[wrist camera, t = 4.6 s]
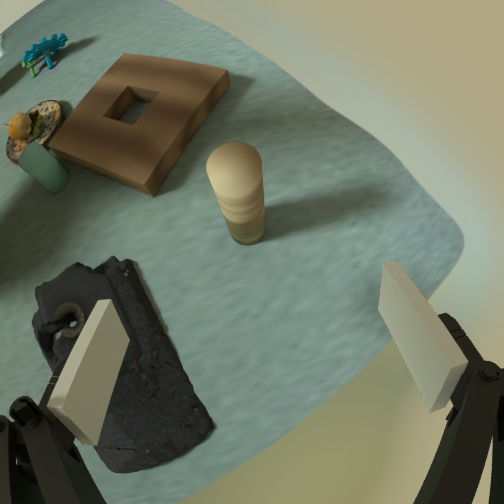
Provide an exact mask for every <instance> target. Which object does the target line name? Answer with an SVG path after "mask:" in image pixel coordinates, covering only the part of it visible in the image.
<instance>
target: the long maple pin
mask: <svg viewBox="0 0 504 504" xmlns="http://www.w3.org/2000/svg"><path fill="white" fill-rule="evenodd" d="M206 170H207V174H208V176H209V179H210V182H211V184H212V187H213V190H214V192H215V195H216V197H217V200H218V203H219V205H220V208H221V210H222V213H223V216H224V218H225V221H226V223H227V226H228V229H229V231H230V234H231V236H232V238H233V239H234V240H235V241H236V242H237V243H239V244H241V245H253V244H256V243H258V242H259V241H260V240H261V239H262V238H263V237H264V235H265V232H266V219H265V205H264V191H263V177H262V163H261V158H260V155H259V153H258V152H257V150H256V149H255V148H253V147H252V146H250V145H248V144H246V143H242V142H230V143H226V144H223V145H221V146H219V147H218V148H216V149H215V150H214V151H213V152H212V153H211V154H210V156H209V158H208V160H207V164H206Z"/></svg>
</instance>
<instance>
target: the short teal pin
mask: <svg viewBox="0 0 504 504" xmlns="http://www.w3.org/2000/svg"><path fill="white" fill-rule="evenodd" d="M18 164H19V166H20V167H21V168H22V169H23V170H24V171H26V172H27V173H28V174H29V175H31V176H32V177H33V178H34V179H36V180H37V181H38V182H39V183H41V184H42V185H43V186H44V187H46V188H47V189H48V190H49V191H51V192H53V193H56V192H59V191H60V190H62V189H63V188H64V187H65V185H66V184H67V182H68V179H69V172H68V170H67V169H65V168H64V167H63V166H62V165H61V164H60V163H59V162H58V161H57V160H56V159H55V158H54V157H53V156H52V155H51V154H50V153H49V152H48V151H47V150H46V149H45V148H44V147H43V146H42V145H41V144H40V143H39V142H37V141H34V142H31V143H30V144H28V145H27V146H26V147H25V148H24V149H23V151H22V152H21V154H20V156H19V160H18Z"/></svg>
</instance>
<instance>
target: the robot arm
mask: <svg viewBox="0 0 504 504" xmlns="http://www.w3.org/2000/svg"><path fill="white" fill-rule="evenodd" d="M378 310H379V312H380V314H381V316H382V318H383V320H384V322H385V323H386V325H387V327H388V329H389V331H390V333H391V335H392V337H393V339H394V341H395V343H396V345H397V346H398V348H399V351H400V353H401V355H402V357H403V359H404V361H405V362H406V364H407V366H408V369H409V371H410V373H411V375H412V377H413V379H414V381H415V383H416V385H417V387H418V390H419V392H420V394H421V396H422V398H423V400H424V403H425V405H426V407H427V409H428V412H429V413H431V412H433V411H436V410H439V409H442V408H444V407H446V405H447V403H448V401H449V399H451V401H452V403H453V405H454V406H453V407H452V409H451V411H450V412H449V414H448V416H447V417H446V420H448V421H447V424H446V427H445V430H444V433H443V436H442V439H441V441H440V444H439V447H438V449H437V452H436V454H435V457H434V459H433V462H432V464H431V467H430V469H429V472H428V474H427V476H426V478H425V480H424V482H423V485H422V487H421V489H420V491H419V493H418V495H417V497H416V499H415V501H414V503H413V504H472V501H473V499H474V496H475V493H476V490H477V488H478V485H479V482H480V479H481V475H482V472H483V469H484V466H485V462H486V459H487V455H488V451H489V447H490V443H491V439H492V435H493V451H492V452H493V453H492V454H493V455H492V473H491V486H490V496H489V504H504V368H503V369H501V368H500V367H498V366H497V365H496V364H495V363H493V362H491V361H484V360H483V358H482V357H481V355H480V354H479V352H478V351H477V349H476V348H475V347H474V345H473V343H472V342H471V340H470V339H469V338H468V336H466V333H465V332H464V331H463V329H461V327H460V325H459V324H458V322H457V321H456V319H454V318H453V317H451V316H450V315H449V314H447V313H444V314H440V315H437V314H436V312H435V311H434V310H433V308H432V307H431V305H430V304H429V303H428V301H427V300H426V299H425V297H424V296H423V294H422V293H421V292H420V290H419V289H418V288H417V286H416V285H415V284H414V282H413V281H412V280H411V278H410V277H409V276H408V275H407V273H406V272H405V271H404V269H403V268H402V267H401V266H400V264H399V263H398V262H391V263H385V264H383V270H382V280H381V289H380V298H379V306H378ZM129 341H130V339H129V337H128V335H127V333H126V331H125V329H124V327H123V325H122V323H121V321H120V318H119V316H118V314H117V312H116V310H115V307H114V305H113V303H112V301H111V299H107V300H98V301H97V303H96V305H95V307H94V309H93V311H92V312H91V314H90V316H89V318H88V320H87V322H86V324H85V326H84V328H83V330H82V331H81V333H80V335H79V337H78V339H77V341H76V343H75V345H74V347H73V349H72V351H71V353H70V355H69V358H68V359H63V360H62V361H61V362H60V363H59V364H58V366H57V367H56V369H55V371H54V373H53V375H52V377H51V379H50V381H49V384H48V385H47V388H46V390H45V392H44V394H43V396H42V399H41V401H40V403H39V406H37V404H36V403H35V402H34V401H33V400H32V399H31V398H30V397H28V396H22V397H19V398H18V399H16V400H15V401H14V402H13V404H12V405H11V407H10V410H9V415H10V416H11V417H12V418H13V419H14V420H15V421H14V422H11V421H10V420H9V419H8V418H7V417H6V416H3V415H0V504H107V503H106V502H105V500H104V498H103V497H102V495H101V493H100V491H99V490H98V488H97V486H96V484H95V482H94V481H93V479H92V477H91V475H90V473H89V471H88V469H87V467H86V465H85V463H84V461H83V459H82V457H81V455H80V453H79V451H78V449H77V447H76V446H75V444H74V443H73V442H74V439H75V437H76V438H77V439H78V440H79V441H80V442H81V443H82V444H86V445H93V446H97V443H98V440H99V436H100V432H101V429H102V425H103V422H104V418H105V415H106V411H107V408H108V405H109V401H110V398H111V395H112V392H113V389H114V385H115V382H116V379H117V376H118V373H119V370H120V367H121V364H122V361H123V358H124V355H125V352H126V349H127V346H128V343H129ZM16 459H17V465H16Z"/></svg>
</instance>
